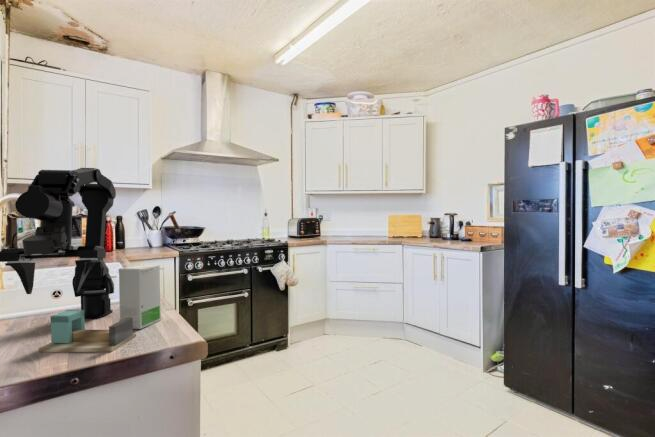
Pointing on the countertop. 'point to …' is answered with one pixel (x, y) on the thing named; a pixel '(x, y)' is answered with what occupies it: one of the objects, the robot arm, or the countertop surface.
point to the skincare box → (140, 294)
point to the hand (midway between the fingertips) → (53, 292)
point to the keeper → (66, 325)
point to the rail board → (82, 346)
